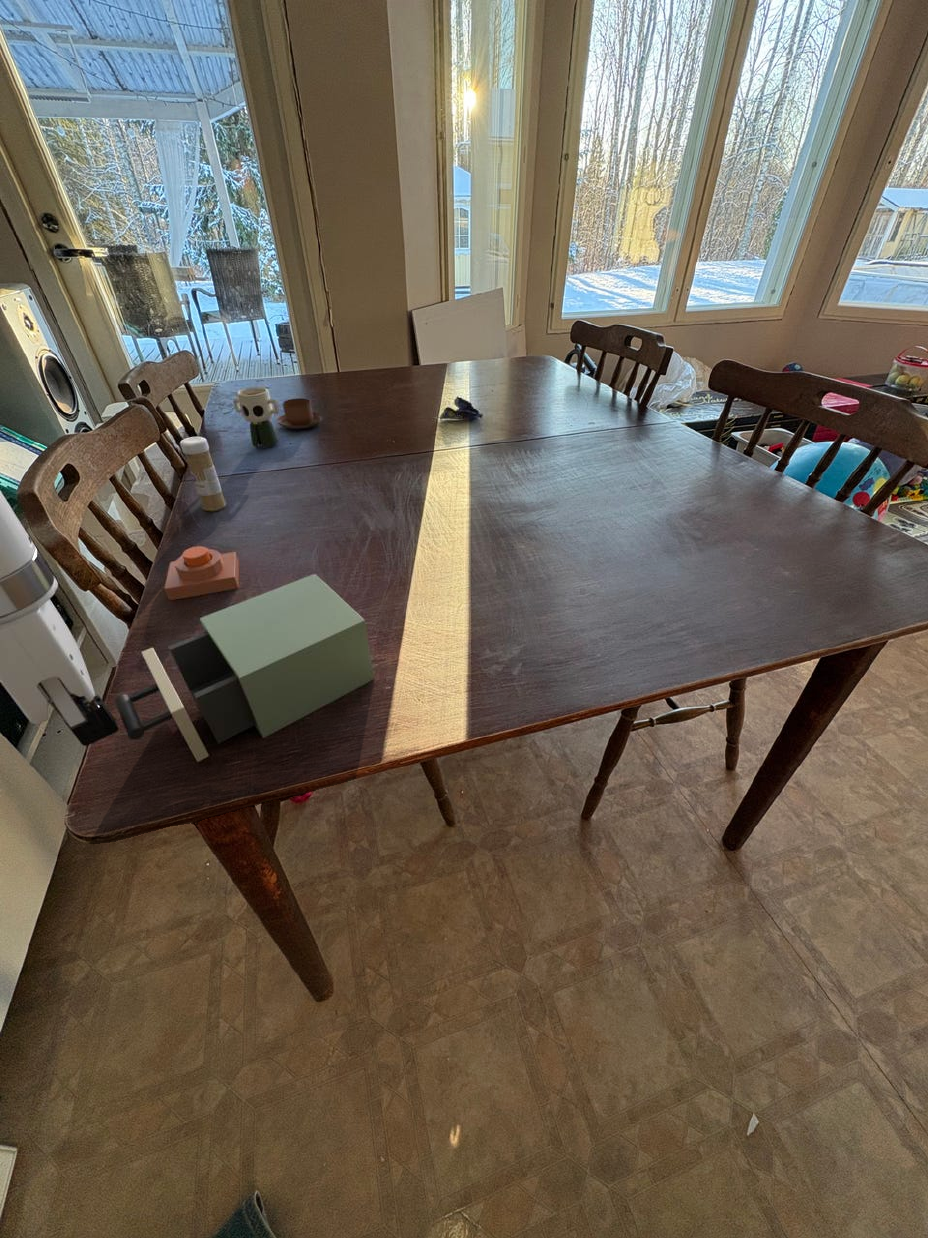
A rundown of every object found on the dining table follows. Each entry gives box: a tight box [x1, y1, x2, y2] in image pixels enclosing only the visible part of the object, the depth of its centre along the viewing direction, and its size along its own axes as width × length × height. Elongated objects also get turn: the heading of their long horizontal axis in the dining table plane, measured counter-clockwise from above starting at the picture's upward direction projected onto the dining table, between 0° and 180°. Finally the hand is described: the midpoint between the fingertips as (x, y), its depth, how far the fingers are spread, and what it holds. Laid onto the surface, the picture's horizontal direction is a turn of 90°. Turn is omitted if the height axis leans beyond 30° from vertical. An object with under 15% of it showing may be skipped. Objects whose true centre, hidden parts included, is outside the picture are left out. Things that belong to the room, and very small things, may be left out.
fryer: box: [199, 573, 375, 739], centre depth 62 cm, size 15×13×10 cm
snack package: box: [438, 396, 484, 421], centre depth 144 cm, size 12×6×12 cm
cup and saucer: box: [276, 397, 323, 430], centre depth 139 cm, size 12×12×6 cm
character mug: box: [232, 386, 280, 448], centre depth 125 cm, size 11×7×13 cm, turn 85°
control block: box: [163, 548, 240, 601], centre depth 81 cm, size 10×8×4 cm
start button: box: [181, 545, 211, 567], centre depth 79 cm, size 4×4×2 cm
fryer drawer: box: [114, 631, 256, 763], centre depth 57 cm, size 18×11×8 cm, turn 130°
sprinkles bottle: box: [179, 436, 227, 512], centre depth 98 cm, size 5×5×13 cm
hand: (100, 733), depth 51 cm, fingers closed
